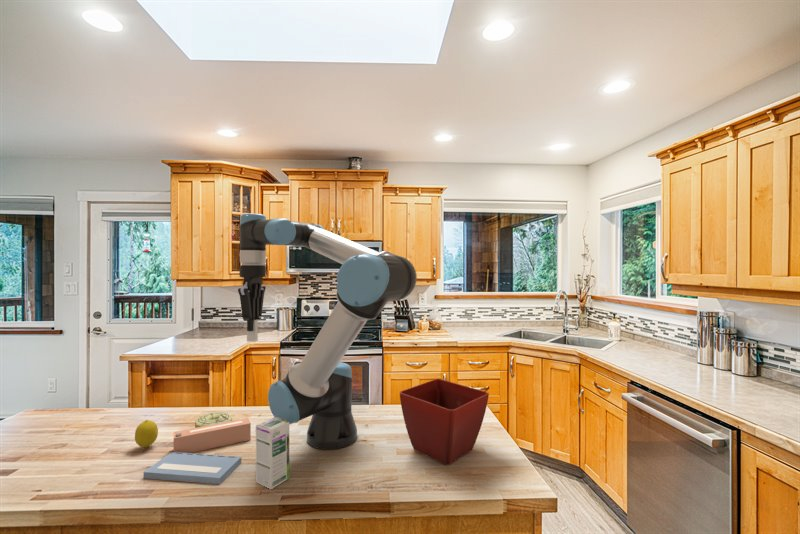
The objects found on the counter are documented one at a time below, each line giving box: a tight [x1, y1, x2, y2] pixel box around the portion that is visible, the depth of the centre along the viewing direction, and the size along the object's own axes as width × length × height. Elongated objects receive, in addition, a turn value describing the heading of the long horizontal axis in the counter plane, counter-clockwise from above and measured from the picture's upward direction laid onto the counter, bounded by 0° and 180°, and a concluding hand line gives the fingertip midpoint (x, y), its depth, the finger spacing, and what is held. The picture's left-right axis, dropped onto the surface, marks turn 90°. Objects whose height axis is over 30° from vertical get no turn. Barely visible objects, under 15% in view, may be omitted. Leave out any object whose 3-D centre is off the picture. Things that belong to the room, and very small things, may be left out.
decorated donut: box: [194, 411, 233, 428], centre depth 122 cm, size 10×11×4 cm
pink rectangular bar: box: [172, 417, 252, 453], centre depth 111 cm, size 20×4×5 cm, turn 121°
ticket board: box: [143, 451, 242, 485], centre depth 97 cm, size 20×10×2 cm, turn 84°
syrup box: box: [255, 416, 290, 490], centre depth 93 cm, size 6×6×14 cm
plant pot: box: [399, 378, 490, 466], centre depth 109 cm, size 19×19×17 cm
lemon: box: [134, 419, 159, 449], centre depth 108 cm, size 6×6×8 cm
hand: (252, 340), depth 116 cm, fingers closed
